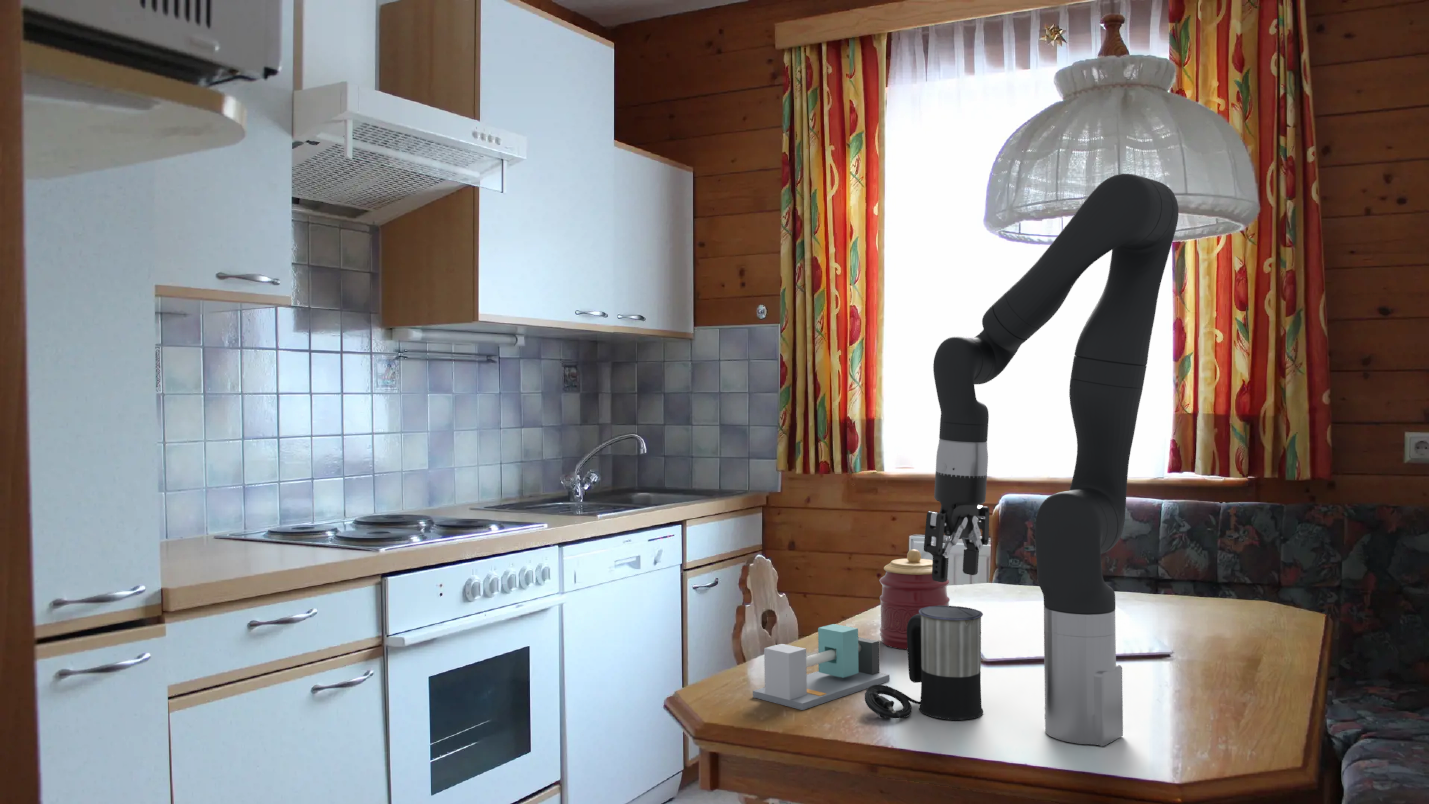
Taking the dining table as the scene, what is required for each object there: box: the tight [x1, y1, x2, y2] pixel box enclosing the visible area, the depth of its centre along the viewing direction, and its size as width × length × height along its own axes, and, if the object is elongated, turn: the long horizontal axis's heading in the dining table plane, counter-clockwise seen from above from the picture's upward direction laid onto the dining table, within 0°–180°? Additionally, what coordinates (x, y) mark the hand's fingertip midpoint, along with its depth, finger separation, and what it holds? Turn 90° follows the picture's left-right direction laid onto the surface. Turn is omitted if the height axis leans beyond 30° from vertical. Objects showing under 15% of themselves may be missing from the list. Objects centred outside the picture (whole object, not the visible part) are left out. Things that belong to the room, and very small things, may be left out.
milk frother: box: [864, 605, 984, 721], centre depth 153 cm, size 14×16×15 cm
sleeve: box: [817, 623, 859, 678], centre depth 169 cm, size 5×4×7 cm
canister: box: [878, 548, 951, 650], centre depth 197 cm, size 13×13×18 cm
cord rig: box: [752, 636, 891, 711], centre depth 166 cm, size 10×22×8 cm, turn 135°
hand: (955, 577), depth 157 cm, fingers open, 8 cm apart
